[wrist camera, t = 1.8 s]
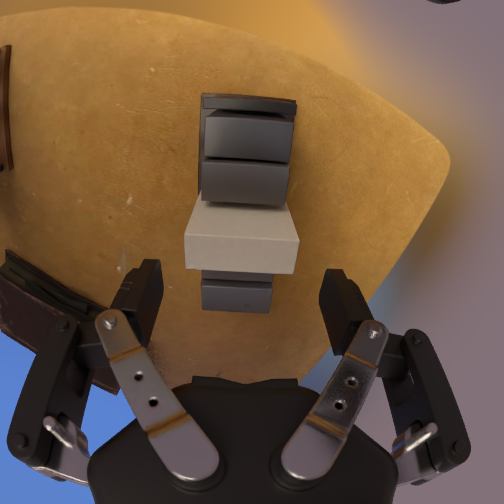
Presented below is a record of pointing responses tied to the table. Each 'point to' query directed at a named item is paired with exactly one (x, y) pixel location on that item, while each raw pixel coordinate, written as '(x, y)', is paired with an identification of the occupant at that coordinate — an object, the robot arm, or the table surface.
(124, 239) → the table surface
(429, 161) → the table surface
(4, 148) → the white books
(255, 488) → the robot arm
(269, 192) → the grey books
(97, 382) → the diary
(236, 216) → the white book
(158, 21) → the table surface
